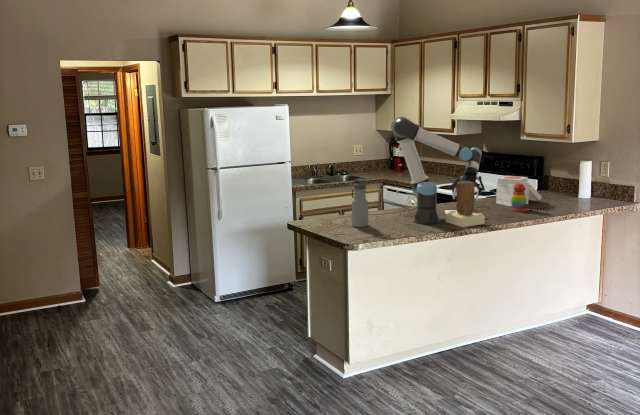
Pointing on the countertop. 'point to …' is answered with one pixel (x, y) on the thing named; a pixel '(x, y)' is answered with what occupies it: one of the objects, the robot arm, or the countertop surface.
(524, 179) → the white storage box
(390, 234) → the countertop surface
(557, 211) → the countertop surface
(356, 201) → the water bottle
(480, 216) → the cream knobbed square piece
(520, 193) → the stacking bear
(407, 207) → the countertop surface
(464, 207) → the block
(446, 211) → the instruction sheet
